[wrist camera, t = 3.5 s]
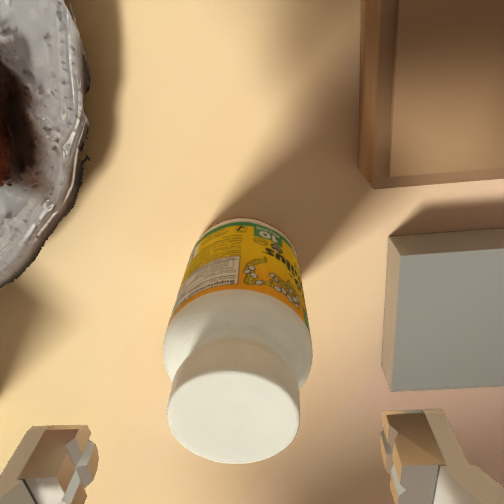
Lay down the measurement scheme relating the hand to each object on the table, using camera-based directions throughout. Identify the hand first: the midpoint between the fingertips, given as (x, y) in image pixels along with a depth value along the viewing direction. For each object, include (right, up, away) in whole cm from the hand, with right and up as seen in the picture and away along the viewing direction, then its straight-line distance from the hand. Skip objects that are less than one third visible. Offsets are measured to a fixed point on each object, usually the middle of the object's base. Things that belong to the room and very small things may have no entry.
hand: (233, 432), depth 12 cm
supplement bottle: (0, +4, +10) cm, 11 cm away
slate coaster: (+11, +2, +10) cm, 15 cm away
